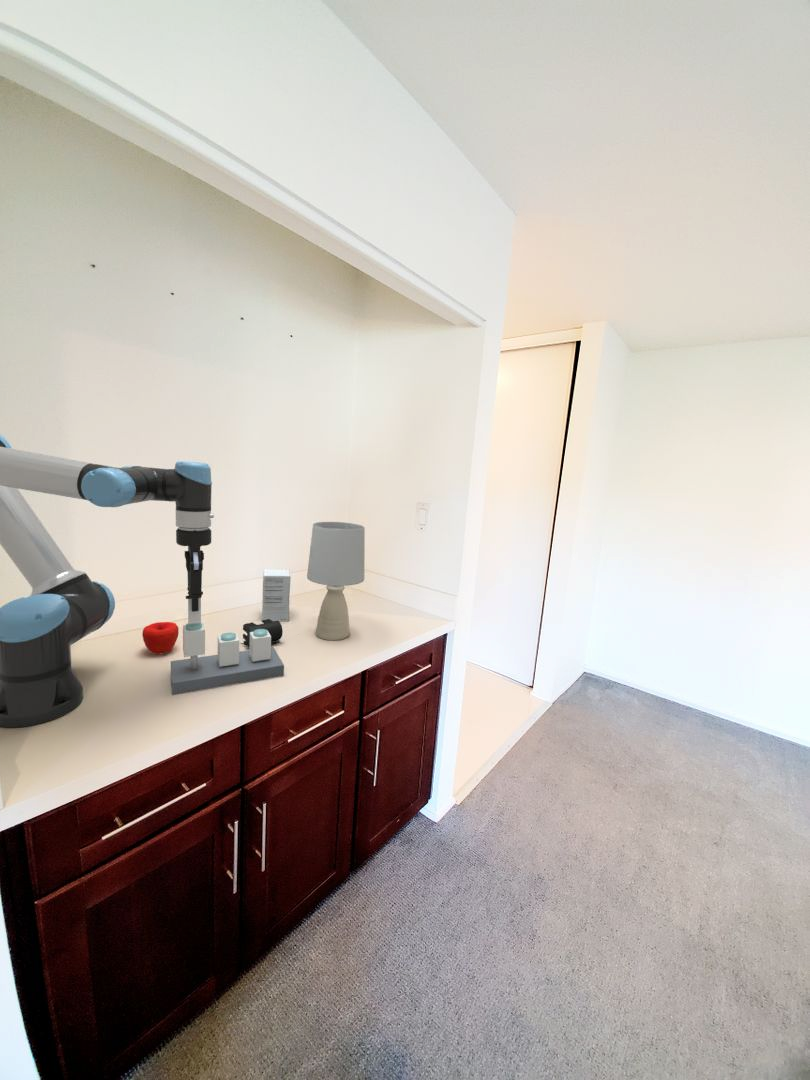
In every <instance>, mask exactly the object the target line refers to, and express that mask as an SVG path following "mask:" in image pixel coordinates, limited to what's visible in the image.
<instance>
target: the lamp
mask: <svg viewBox="0 0 810 1080" xmlns="http://www.w3.org/2000/svg"><path fill="white" fill-rule="evenodd" d="M365 530H366V529H365V526H364V525H362V524H361V525H360V524H358V523H357V524H356V523H351V522H341V521H318V522H317V521H316V522H315V523H313V524H312V531H311V537H310V546H309V554H308V555H309V556H308V563H307V572H306V573H307V574H306V578H307V580H308V581H310V582H312V583H315V584H317V585H323V586H326V587H325V588H326V590H327V592H326V594H325V596H324V598H323V601H322V602H321V605H320V609H319V615H318V617H317V622H316V623H317V624H316V629H315V634H316V636H317V637H318V638H320V639H322V640H325V641H341V640H343V639H346V638H348V637H349V636H350V620H349V619H350V618H349V609H348V605H347V601H346V596H345V594H344V589H346V588H345V587H348V586H349V587H350V586H355V585H359V584H361V583H363V582H364V581H365V554H366V553H365Z"/></svg>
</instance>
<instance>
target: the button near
mask: <svg viewBox="0 0 810 1080" xmlns="http://www.w3.org/2000/svg"><path fill="white" fill-rule="evenodd" d="M182 650H183V651H182V652H183V657H184V658H188V657H189V658H190V656H197V655H198V656H203V655H204V656H205V654H206V628H205V624H204V622H203V623H202V622H201V623H192V624H189V623H186V624H184V625H182Z"/></svg>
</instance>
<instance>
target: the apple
mask: <svg viewBox="0 0 810 1080" xmlns="http://www.w3.org/2000/svg"><path fill="white" fill-rule="evenodd" d="M141 634H142V640H143V643H144V645H145V647H146V648H147V650H148V651H149V652H150V653H152V654H154V655H163V654H166V653H169V652H171V651H172V650H173V649H174V646H175V645H176V643H177V640H178V637H179V626H178V625H177V623H175V622H171V621H170V622H169V621H159V622H154V623H151V624H148V625H146V626H145V627H143V629H142V632H141Z"/></svg>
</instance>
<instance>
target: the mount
mask: <svg viewBox="0 0 810 1080" xmlns="http://www.w3.org/2000/svg"><path fill="white" fill-rule="evenodd" d="M217 656H218V654H213V655H211V654H210V655H204V656H199V655H197V656H190V657H189V658H184V659H177V660H170V680H171V694H172V696H174V695H180V694H181V695H182V694H186V693H193V692H198V691H203V690H204V691H205V690H209V689H216V688H218V687H219V688H220V687H227V686H232V685H238V684H243V683H249V682H254V681H261V680H266V679H272V678H277V677H278V678H279V677H284V676H285V675H284V673H285V664H284V663H283V661H282V659H281V657H280V656H279V654H278V652H277V650H276V649H275V647H274V646H271V658H270V659H267V660H260V661H254V662H253V661H252V659H251V657H250V655H249V650H248V649H247V650H241V651H240V650H239V664H234V665H227V666H221V667H220V666H219V662H218V659H217Z"/></svg>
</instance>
